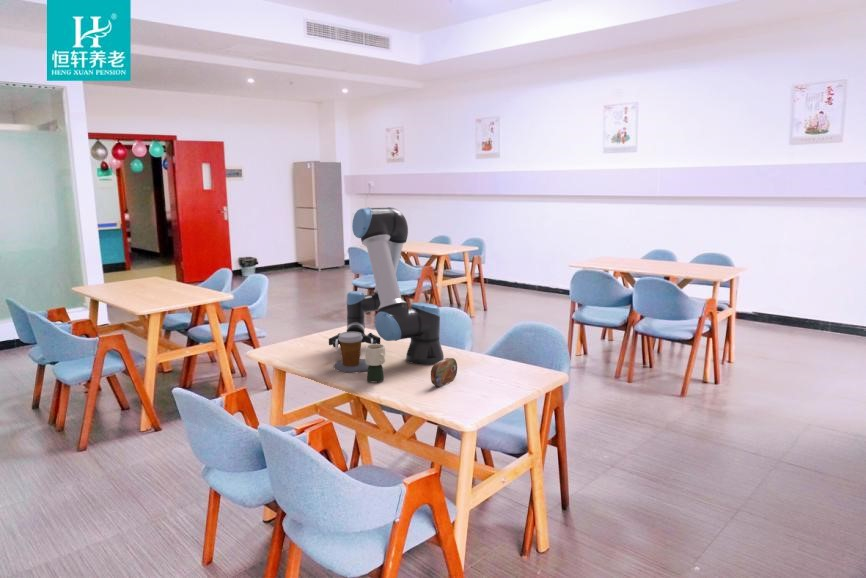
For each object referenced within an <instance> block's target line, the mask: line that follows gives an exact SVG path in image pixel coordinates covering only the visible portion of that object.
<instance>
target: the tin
mask: <svg viewBox="0 0 866 578" xmlns="http://www.w3.org/2000/svg"><path fill="white" fill-rule="evenodd" d="M457 374H458V363H457V361H456V359H455V358H453V357H445V358H444V359H443V360H441V361H439V362H437V363H435V364H432V367H431V369H430V380H431V383H432V385H433V386H436V387H440V388H441V387H444V386H445V385H447V384H448V383H449V384H450V383H451V382H453V380H455V378H456V377H457Z"/></svg>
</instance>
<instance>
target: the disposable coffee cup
mask: <svg viewBox="0 0 866 578" xmlns="http://www.w3.org/2000/svg"><path fill="white" fill-rule="evenodd" d="M339 333H340V332H339ZM339 333H338V334H339ZM362 338H363V336H362V334H361V333H359V332H347V331H344V332H341V333H340V334H339V337H338V339H339V342H340V344H339V347H340V354H341V360H342V361H343V365H344V366H348V367H352V366H357V365H359V360H360V359H361V349H362Z"/></svg>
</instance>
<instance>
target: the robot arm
mask: <svg viewBox="0 0 866 578" xmlns="http://www.w3.org/2000/svg"><path fill="white" fill-rule="evenodd" d="M351 223H352V233H353V235H354V236H355V238H358V239H360V241H361V244H362V245H363V246H365V247H366V249H367V254H368V258H369V261H370V266H371V271H372V275H373V279H374V282H375V286H374V291H373V294H365V292H363V291H360V290H359V291H358V290H357V291H356V290H353V291H349V292H347V295H346V313H347V314H346V332H359V333H361V334H362V336H363V338H362V342H361V344H363V343H366V344H368V345H369V344H381V339H383V340H384V341H387V342H393V341H394V342H397V341H400V340H405V339H410V342H409V345H408V347H407V351H406V358H405V359H406V361H407V362H408V363H410V364H415V365H421V366H422V365H423V366H424V365H425V366H428V365H429V366H430V365H434V364H435V363H437V362H439V361H441V360H443V359H445V358H444V357H445V356H444V352H443V349H442V348H443V347H442V345H441V341H440V323H441V321H440V320H441V314H440V307H439V306H438V305H436V304H432V303H427V302H412V303H410V307H408V303H407V301H405V300H404V299H402V294H401V290H400V287H399V283H398V279H397V271H398V267H399V262H400V259H401V255H402V250H403V246H404V244H405V243H407V240H408V235H409V227H408V226H409V225H408V222H407V219H406V217H405V215H404V214H403V213H402V212H401V211H400V210H399V209H397V208H395V207H391V206H390V207H363V208H359V209H357V210H356V212H355V214H354V216H353V218H352V222H351ZM372 312H377V313H376V314H375V316H374V327H375V330H376V332H377V334H378V336H377V335H375V334H373V333H372V332H369V333H368V334H366V333H365V332H366V331H365V329H366V326H365V325H366V323H365V315H366V314H365V313H372ZM339 334H340V332H339V333H338V334H335V335H334V336H332V337H330V338H328V345H329V346H332V348H334V351H338V348H339V346H340V342H339V339H338V337H339Z"/></svg>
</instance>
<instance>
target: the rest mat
mask: <svg viewBox="0 0 866 578" xmlns="http://www.w3.org/2000/svg"><path fill="white" fill-rule="evenodd" d="M368 366H369V365H367V364H366V360H365V358H360V360H359V365H357V366H352V367H348V366H344V365H343V361H342V359H341V360H339V361H336V362H334V364H333V369H334V368H335V369H334V370H335V371H337V370H338V372H341V373H346V374H347V373H349V374H351V373H352V374H354V373H353V372H358V373H364V372H367V371H368Z"/></svg>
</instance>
